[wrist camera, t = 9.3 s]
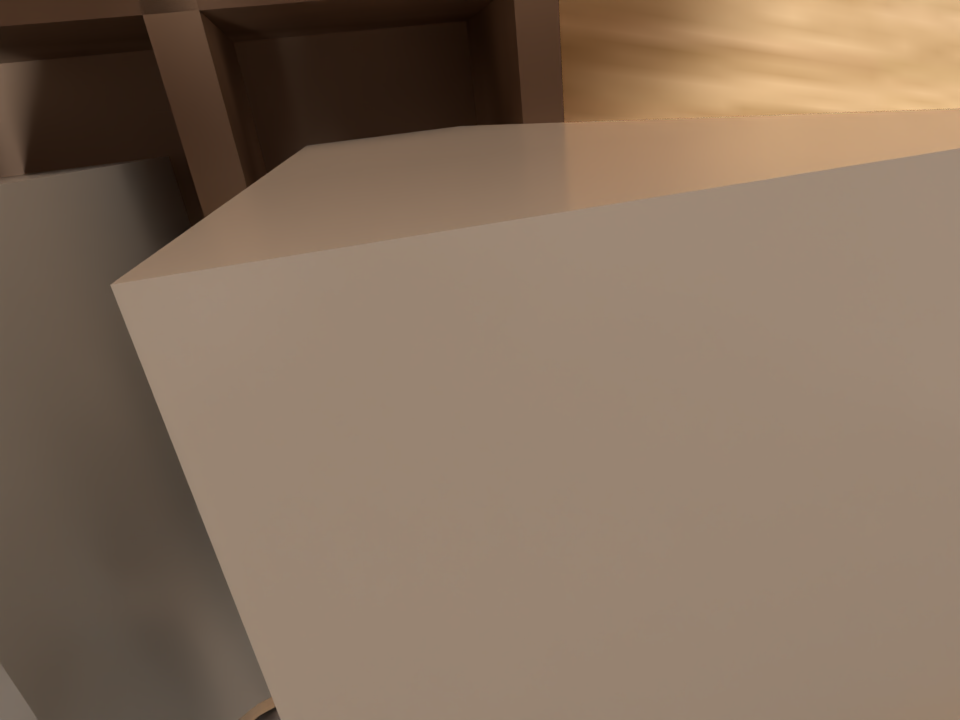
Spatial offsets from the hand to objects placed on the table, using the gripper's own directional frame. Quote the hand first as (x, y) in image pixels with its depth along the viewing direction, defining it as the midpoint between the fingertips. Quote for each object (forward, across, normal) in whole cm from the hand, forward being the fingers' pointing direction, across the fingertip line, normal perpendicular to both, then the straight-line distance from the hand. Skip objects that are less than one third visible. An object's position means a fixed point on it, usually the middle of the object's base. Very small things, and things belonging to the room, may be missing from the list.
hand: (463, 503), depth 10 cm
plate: (+3, 0, 0) cm, 3 cm away
